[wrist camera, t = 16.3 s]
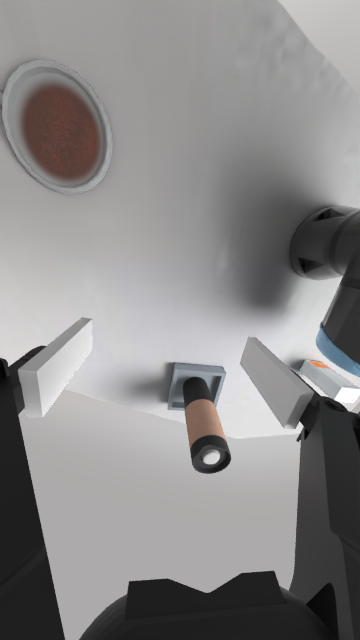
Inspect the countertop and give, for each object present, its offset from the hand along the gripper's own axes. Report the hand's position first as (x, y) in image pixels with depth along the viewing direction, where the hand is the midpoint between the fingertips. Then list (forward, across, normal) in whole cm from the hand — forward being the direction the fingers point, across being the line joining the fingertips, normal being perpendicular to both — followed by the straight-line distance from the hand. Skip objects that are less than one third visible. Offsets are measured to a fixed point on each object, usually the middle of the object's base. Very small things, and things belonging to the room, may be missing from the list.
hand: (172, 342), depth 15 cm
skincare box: (+29, +46, -18) cm, 57 cm away
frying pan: (+29, -26, +24) cm, 46 cm away
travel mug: (+28, +12, -28) cm, 41 cm away
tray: (+29, +12, -28) cm, 42 cm away
